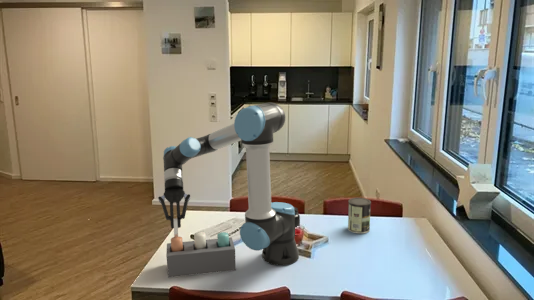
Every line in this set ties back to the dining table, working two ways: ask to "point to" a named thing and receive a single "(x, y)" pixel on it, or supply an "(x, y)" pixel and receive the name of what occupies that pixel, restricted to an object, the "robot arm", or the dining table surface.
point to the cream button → (200, 240)
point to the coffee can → (359, 215)
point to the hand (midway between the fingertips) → (176, 235)
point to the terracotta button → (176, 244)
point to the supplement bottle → (297, 217)
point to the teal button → (223, 239)
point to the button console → (200, 259)
